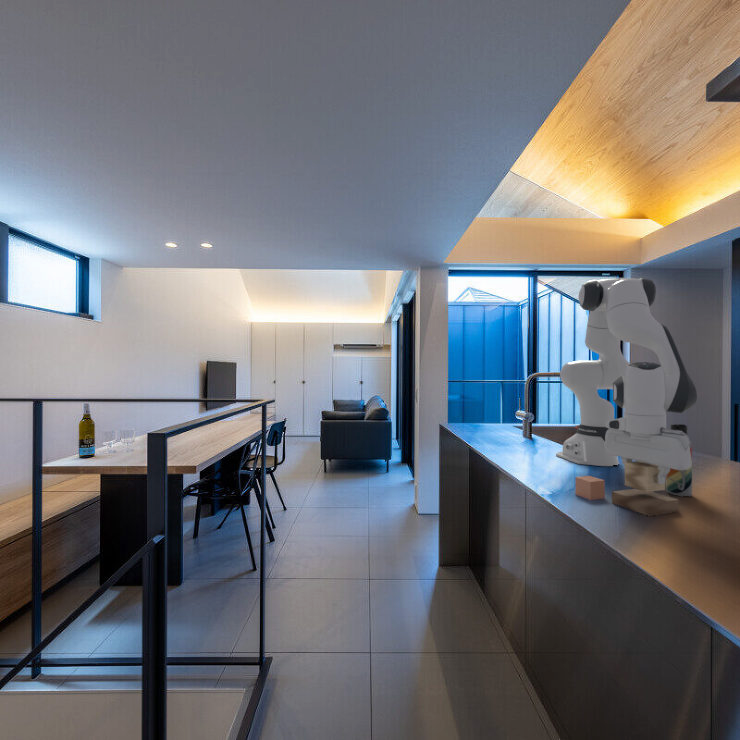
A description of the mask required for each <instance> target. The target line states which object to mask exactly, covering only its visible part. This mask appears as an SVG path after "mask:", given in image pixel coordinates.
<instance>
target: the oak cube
mask: <svg viewBox="0 0 740 740" xmlns="http://www.w3.org/2000/svg"><path fill="white" fill-rule="evenodd" d="M660 471H661V470H658V465H653V464H649V463H645V462H640V461H636V460H633V461H632V462H625V466H624V486H626V487H629V488H631V489H639V490H642V491H646V492H658V491H660V492H661V491H666V482H665V483H664V484H658V483H655V482H654V476H657V475H658V474H659V473H660Z"/></svg>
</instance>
